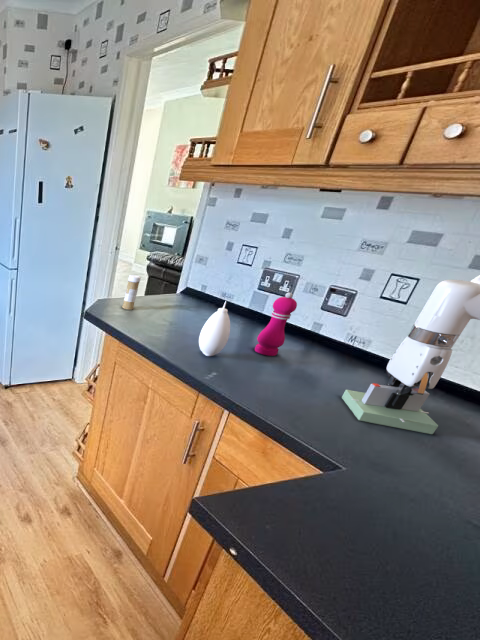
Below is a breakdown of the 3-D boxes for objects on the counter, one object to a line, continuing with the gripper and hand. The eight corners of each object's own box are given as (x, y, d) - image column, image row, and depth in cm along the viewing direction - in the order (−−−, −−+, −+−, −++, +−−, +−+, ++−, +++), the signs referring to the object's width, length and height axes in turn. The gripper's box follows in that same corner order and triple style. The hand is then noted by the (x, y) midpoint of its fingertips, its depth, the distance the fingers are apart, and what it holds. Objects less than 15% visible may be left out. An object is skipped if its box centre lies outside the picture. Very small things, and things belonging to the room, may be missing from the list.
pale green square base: (407, 406, 107) (413, 398, 106) (439, 438, 95) (446, 429, 93) (336, 394, 112) (341, 385, 111) (358, 423, 99) (363, 414, 98)
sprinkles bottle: (121, 306, 175) (128, 274, 168) (133, 307, 174) (140, 275, 167) (122, 309, 171) (129, 276, 164) (134, 310, 170) (141, 277, 163)
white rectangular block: (414, 408, 101) (426, 389, 99) (418, 411, 100) (430, 392, 97) (361, 400, 104) (371, 382, 101) (364, 404, 103) (375, 385, 100)
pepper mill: (257, 355, 133) (281, 294, 124) (249, 346, 139) (272, 288, 130) (282, 357, 132) (308, 296, 122) (273, 349, 138) (298, 290, 128)
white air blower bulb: (192, 348, 137) (209, 295, 128) (218, 351, 135) (236, 298, 126) (196, 358, 130) (214, 302, 121) (224, 361, 128) (244, 305, 120)
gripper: (479, 352, 85) (429, 425, 94) (428, 326, 99) (388, 392, 108) (435, 347, 87) (390, 420, 96) (391, 322, 100) (355, 388, 109)
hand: (389, 405), depth 102 cm, fingers closed on white rectangular block
